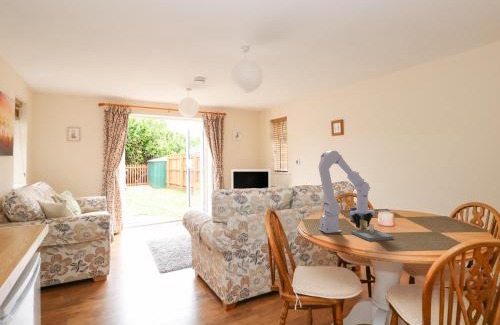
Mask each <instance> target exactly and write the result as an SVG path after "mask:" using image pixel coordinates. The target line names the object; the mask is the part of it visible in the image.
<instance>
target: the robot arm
mask: <svg viewBox="0 0 500 325" xmlns="http://www.w3.org/2000/svg"><path fill="white" fill-rule="evenodd" d="M333 165H337V166H339V167H340V168H341V170H342V171H344V173H346V175H347V179H348V180H349V181H350V182H351V183H352V185H353V186H354V190H356V205H357V206H356V207H357V210H355V211H350V210H349V216H350V215H352V217H353V219H354V221H355V222H354V224H355V228H356V229H357V228H359V227H360V218H361V216H359V214H364V219H365V220H366V221H367V228H369V224H371V221H372V219H373V216H374V215H375V214H376V213H375V210H374V209H369V207H368V206H369V205H368V203H369V201H368V200H369V191H370V190H371V187H370V184H369V183H368V182H367V181H365V179H364V178H362V177H361V175H360V173H359V172H358V171H355V170H353V169H352V168H351V166H350V165H349V164H348V163H347V162H346V161H345V159H344V158H343V155H341V154H340V153H339V151H337V150H325V151H324V152H323V153H322V154H321V155H320V161H319V164H318V173H319V176H320V181H321V187H322V191H323V197H324V198H323V204H322V209H323V211H324V214H323V215H321V216H320V217H319V230H320V231H321V232H324V233H326V234H330V233H342V230H341V229H339V215H340V213H341V207H340V204H338V200H337V199H336V196H335V193H334V187H333V183H332V178H331V171H330V168H331V167H332V166H333Z"/></svg>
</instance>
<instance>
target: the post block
mask: <svg viewBox="0 0 500 325" xmlns="http://www.w3.org/2000/svg"><path fill="white" fill-rule="evenodd" d="M374 226H375V225H374V224H372V223H369V226H368V228H369V229H367V230H357V229H356V230H350V232H351V233H350V234H351V235H353V236H356V237H358V238H361V239H363V240H364V241H367V242H374V241H375V242H376V241H387V240H394V235H392V234H388V233H387V232H383V231H380V230H377V229H374V228H375V227H374Z"/></svg>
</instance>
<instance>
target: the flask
mask: <svg viewBox="0 0 500 325" xmlns="http://www.w3.org/2000/svg"><path fill="white" fill-rule="evenodd" d="M355 210H357V204H356V206H355V207H354V206H352V207H350V210H349V212H350V211H355ZM359 216H361V218H360V220H365V219H364V214H359ZM349 222H352V223H353V222H354V223H355V221H354V219H353V217H352V215H350V214H349Z"/></svg>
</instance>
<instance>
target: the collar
mask: <svg viewBox="0 0 500 325" xmlns="http://www.w3.org/2000/svg"><path fill="white" fill-rule="evenodd" d="M357 230H368V227H367V221H366V220H360V227H359V228H357V227H356V231H357Z"/></svg>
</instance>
